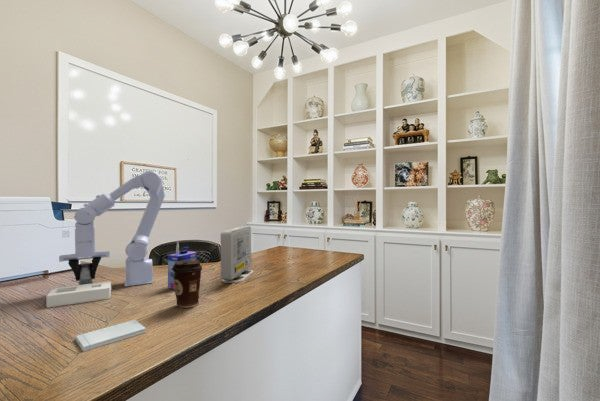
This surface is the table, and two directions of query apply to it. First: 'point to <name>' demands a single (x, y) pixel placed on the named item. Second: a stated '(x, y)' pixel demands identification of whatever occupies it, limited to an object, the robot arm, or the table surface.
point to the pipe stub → (85, 273)
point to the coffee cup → (187, 283)
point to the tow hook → (177, 247)
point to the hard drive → (109, 335)
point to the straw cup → (175, 258)
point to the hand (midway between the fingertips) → (85, 279)
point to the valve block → (79, 294)
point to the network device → (235, 254)
